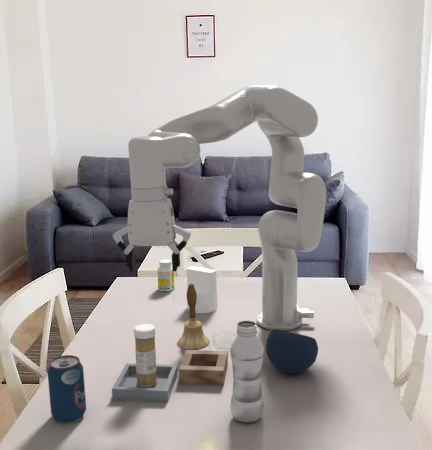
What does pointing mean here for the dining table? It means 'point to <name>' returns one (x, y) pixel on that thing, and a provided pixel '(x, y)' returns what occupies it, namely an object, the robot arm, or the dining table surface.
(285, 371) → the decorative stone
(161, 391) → the tray
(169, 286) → the supplement bottle
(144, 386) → the sprinkles bottle
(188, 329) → the hand bell
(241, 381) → the plastic bottle
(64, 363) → the soda can
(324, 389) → the dining table surface
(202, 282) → the white upright carton
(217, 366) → the holder block
